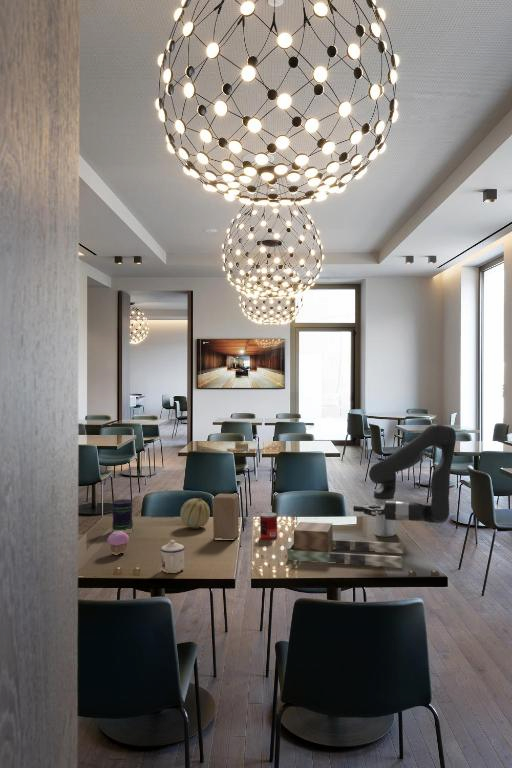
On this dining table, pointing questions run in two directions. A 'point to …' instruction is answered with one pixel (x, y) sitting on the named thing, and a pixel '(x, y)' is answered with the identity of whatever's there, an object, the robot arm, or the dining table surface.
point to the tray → (352, 558)
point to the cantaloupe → (195, 513)
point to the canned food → (268, 526)
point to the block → (225, 516)
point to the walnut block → (313, 537)
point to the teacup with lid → (172, 556)
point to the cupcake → (118, 541)
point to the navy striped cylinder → (122, 514)
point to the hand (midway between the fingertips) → (353, 508)
